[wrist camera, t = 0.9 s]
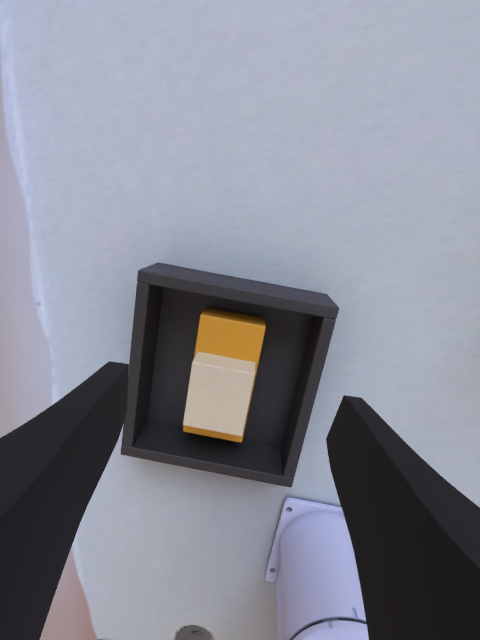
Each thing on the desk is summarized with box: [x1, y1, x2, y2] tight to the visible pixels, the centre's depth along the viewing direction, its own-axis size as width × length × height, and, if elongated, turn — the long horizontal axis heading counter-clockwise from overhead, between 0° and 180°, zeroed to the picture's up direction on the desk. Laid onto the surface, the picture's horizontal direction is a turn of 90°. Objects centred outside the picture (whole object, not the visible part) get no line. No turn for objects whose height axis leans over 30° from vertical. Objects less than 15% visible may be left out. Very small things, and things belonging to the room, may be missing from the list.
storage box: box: [121, 263, 339, 487], centre depth 25 cm, size 14×13×4 cm
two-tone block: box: [183, 307, 266, 442], centre depth 24 cm, size 9×4×5 cm, turn 170°
